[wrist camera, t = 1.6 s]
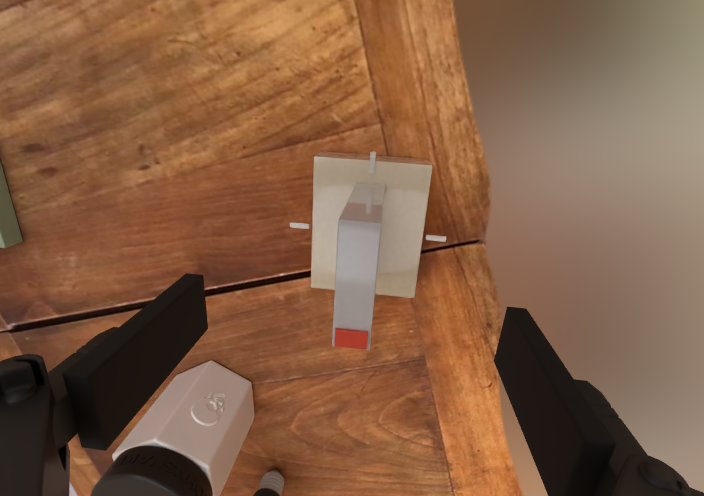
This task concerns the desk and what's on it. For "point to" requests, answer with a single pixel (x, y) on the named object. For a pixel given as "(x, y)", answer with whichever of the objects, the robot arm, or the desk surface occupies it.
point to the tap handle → (357, 266)
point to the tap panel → (397, 220)
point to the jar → (184, 438)
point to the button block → (7, 216)
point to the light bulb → (271, 484)
